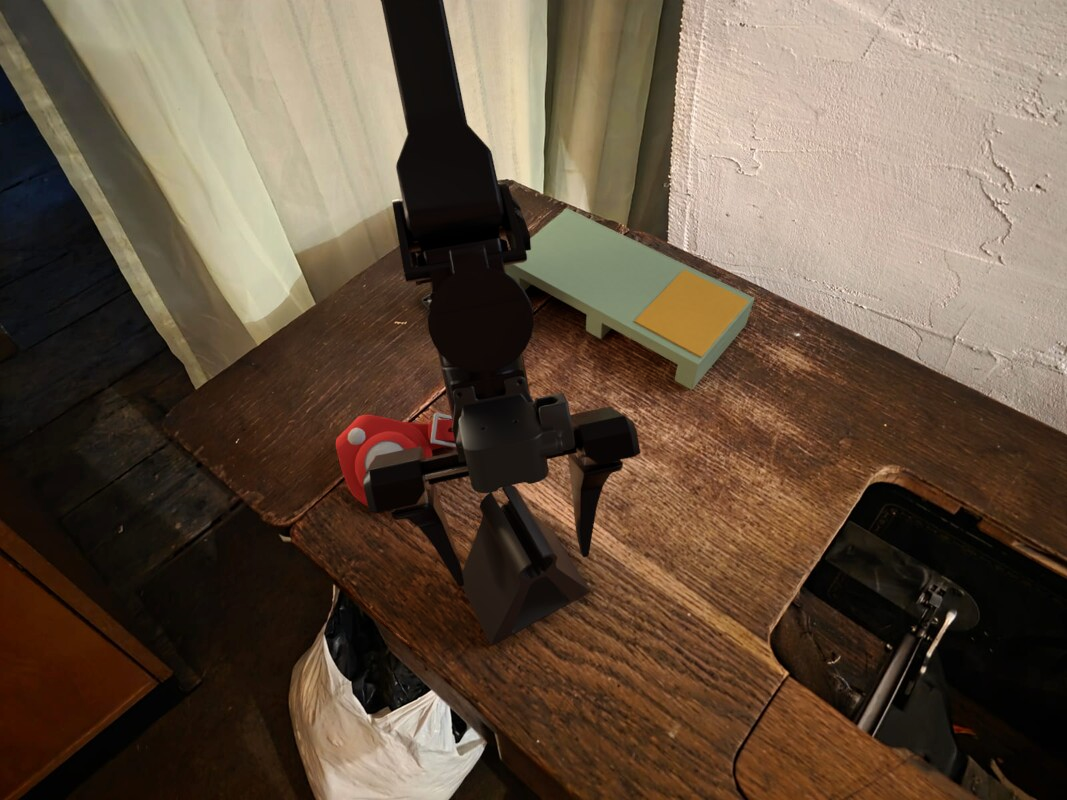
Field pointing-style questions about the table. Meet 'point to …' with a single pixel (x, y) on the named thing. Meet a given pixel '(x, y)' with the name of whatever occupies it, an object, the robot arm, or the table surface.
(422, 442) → the red tape measure
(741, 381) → the table surface
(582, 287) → the shoe shelf
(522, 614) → the phone stand
